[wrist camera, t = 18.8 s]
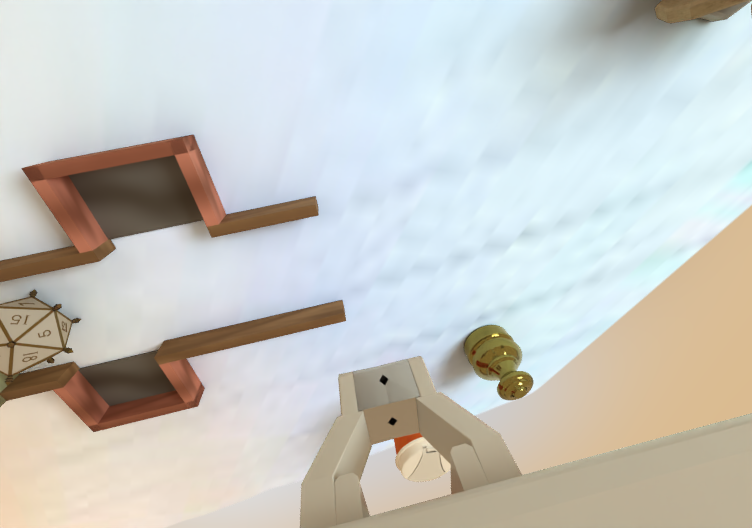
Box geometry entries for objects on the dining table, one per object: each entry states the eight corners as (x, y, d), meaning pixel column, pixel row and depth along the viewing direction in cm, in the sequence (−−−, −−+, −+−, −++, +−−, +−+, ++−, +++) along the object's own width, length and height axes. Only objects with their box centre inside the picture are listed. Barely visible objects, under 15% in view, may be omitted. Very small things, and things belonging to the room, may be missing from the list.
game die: (85, 305, 41) (67, 388, 37) (-18, 300, 35) (-52, 397, 31) (87, 278, 35) (67, 374, 31) (-36, 267, 29) (-81, 381, 25)
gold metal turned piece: (483, 366, 53) (516, 419, 44) (453, 348, 50) (482, 402, 41) (516, 336, 51) (557, 385, 42) (487, 315, 48) (525, 364, 39)
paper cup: (378, 361, 49) (400, 450, 36) (427, 356, 50) (464, 441, 38) (376, 397, 52) (395, 489, 40) (421, 392, 54) (453, 480, 41)
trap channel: (-170, 202, 29) (-238, 217, 25) (294, 115, 32) (292, 118, 28) (58, 423, 44) (36, 452, 40) (355, 351, 47) (358, 372, 43)
